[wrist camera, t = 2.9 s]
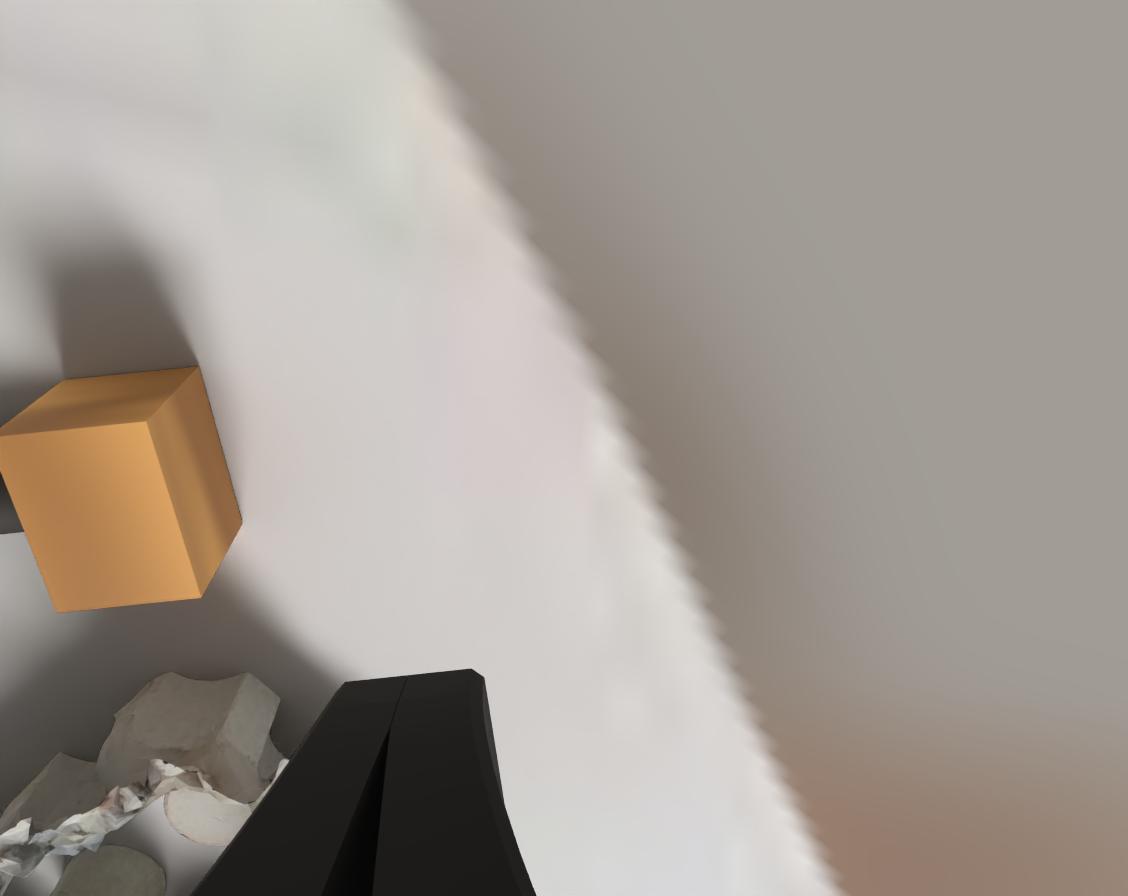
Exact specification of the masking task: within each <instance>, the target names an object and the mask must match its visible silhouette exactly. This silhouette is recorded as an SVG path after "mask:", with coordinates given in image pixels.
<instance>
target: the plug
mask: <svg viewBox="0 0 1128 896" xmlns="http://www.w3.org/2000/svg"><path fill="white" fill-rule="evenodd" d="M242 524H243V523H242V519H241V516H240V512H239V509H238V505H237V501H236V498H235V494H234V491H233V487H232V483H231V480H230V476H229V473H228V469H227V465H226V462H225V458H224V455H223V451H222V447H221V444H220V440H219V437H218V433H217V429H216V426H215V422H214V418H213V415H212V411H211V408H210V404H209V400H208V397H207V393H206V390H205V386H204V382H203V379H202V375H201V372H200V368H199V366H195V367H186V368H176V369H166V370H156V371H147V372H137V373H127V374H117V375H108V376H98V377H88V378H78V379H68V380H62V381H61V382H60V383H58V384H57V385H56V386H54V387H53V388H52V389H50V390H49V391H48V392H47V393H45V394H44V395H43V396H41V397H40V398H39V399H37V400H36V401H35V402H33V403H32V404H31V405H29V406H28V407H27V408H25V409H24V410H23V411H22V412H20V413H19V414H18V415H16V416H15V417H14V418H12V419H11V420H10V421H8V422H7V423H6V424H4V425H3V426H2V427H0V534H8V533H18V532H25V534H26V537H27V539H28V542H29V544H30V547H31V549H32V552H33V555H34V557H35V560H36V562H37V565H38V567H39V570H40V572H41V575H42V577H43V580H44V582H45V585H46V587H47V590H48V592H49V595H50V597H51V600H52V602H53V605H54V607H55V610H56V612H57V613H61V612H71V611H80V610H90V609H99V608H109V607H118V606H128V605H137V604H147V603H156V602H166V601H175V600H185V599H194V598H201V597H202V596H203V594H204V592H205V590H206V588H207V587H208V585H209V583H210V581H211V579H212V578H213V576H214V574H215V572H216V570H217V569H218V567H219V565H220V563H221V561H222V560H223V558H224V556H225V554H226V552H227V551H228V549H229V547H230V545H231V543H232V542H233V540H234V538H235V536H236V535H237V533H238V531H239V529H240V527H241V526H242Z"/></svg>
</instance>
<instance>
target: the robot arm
mask: <svg viewBox="0 0 1128 896" xmlns="http://www.w3.org/2000/svg"><path fill="white" fill-rule="evenodd" d="M190 896H536V893H535V891H534V888H533V886H532V883H531V881H530V878H529V875H528V873H527V870H526V867H525V865H524V862H523V859H522V857H521V854H520V851H519V848H518V845H517V842H516V839H515V836H514V833H513V830H512V827H511V824H510V821H509V818H508V815H507V811H506V808H505V804H504V798H503V792H502V786H501V779H500V773H499V767H498V761H497V754H496V748H495V742H494V735H493V729H492V723H491V717H490V710H489V704H488V698H487V691H486V685H485V679H484V677H483V676H481V675H480V674H479V673H477V672H476V671H474V670H473V669H463V670H454V671H444V672H435V673H426V674H416V675H407V676H397V677H388V678H379V679H369V680H360V681H350V682H345V683H344V684H343V685H342V686H341V687H340V688H339V690H338V691H337V692H336V693H335V694H334V696H333V697H332V699H331V700H330V702H329V703H328V705H327V706H326V708H325V709H324V711H323V712H322V713H321V715H320V716H319V718H318V719H317V721H316V722H315V724H314V725H313V727H312V728H311V730H310V731H309V733H308V734H307V736H306V737H305V739H304V740H303V742H302V743H301V744H300V746H299V747H298V749H297V750H296V752H295V753H294V755H293V756H292V758H291V759H290V760H289V762H288V763H287V765H286V766H285V768H284V769H283V770H282V772H281V773H280V775H279V776H278V778H277V779H276V780H275V782H274V783H273V785H272V786H271V788H270V789H269V790H268V792H267V793H266V795H265V796H264V797H263V799H262V800H261V802H260V803H259V804H258V806H257V807H256V808H255V810H254V811H253V812H252V814H251V815H250V816H249V818H248V819H247V821H246V822H245V823H244V825H243V826H242V827H241V829H240V830H239V831H238V833H237V834H236V835H235V837H234V838H233V839H232V841H231V842H230V844H229V845H228V846H227V848H226V849H225V850H224V852H223V853H222V854H221V856H220V857H219V858H218V860H217V861H216V863H215V864H214V865H213V866H212V868H211V869H210V870H209V872H208V873H207V874H206V876H205V877H204V878H203V880H202V881H201V882H200V883H199V885H198V886H197V887H196V888H195V890H194V891H193V892H192V893H191V895H190Z"/></svg>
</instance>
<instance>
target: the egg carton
mask: <svg viewBox="0 0 1128 896" xmlns="http://www.w3.org/2000/svg"><path fill="white" fill-rule="evenodd" d="M280 701H281V699H280V698H279V697H278V696H277V695H276V694H275V693H274V692H273V691H272V690H271V689H270V688H268V687H267V686H266V685H265V684H263V683H262V682H261V681H260V680H259V679H258V678H257V677H255V676H254V675H252V674H251V673H249V672H244V673H242V674H239V675H236V676H233V677H229V678H226V679H222V680H216V681H201V680H195V679H189V678H186V677H184V676H181V675H179V674H176V673H174V672H168V673H164V674H162V675H159V676H157V677H155V678H154V679H152V680H151V681H149V682H148V683H147V684H146V685H145V686H144V687H143V688H142V689H141V690H140V691H139V692H137V693H136V695H135V696H134V698H133V699H132V700H131V701H129V702H128V703H127V704H126V705H125V706H123V707H122V708H121V709H120V710H119V711H118V712H117V713H115V714H114V717H115V719H116V721H115V723H114V726H113V728H112V731H111V733H110V735H109V736H108V738H107V739H106V741H105V742H104V743H103V745H102V748H101V751H100V753H99V757H98V760H97V762H88V761H84V760H80V759H77V758H73V757H70V756H68V755H66V754H65V753H62V752H59V753H58V754H57V755H56V756H55V757H54V758H53V759H52V760H51V761H50V762H49V763H48V764H47V766H46V767H45V768H44V769H43V770H42V771H41V772H40V773H39V774H38V775H37V776H36V777H35V778H34V780H33V781H32V782H31V783H30V784H29V785H28V786H27V787H26V788H25V789H24V790H23V791H22V792H21V793H20V794H19V795H18V796H17V797H16V798H15V799H14V800H13V801H12V802H11V803H10V804H9V805H8V807H7V808H6V809H5V811H4V813H3V815H2V817H1V818H0V896H3V894H4V892H5V890H6V888H7V886H8V884H9V883H10V881H11V880H12V878H13V876H17V877H22V878H23V877H29V875H30V874H31V873H32V872H33V870H34V869H35V868H36V867H37V865H38V864H39V863H40V862H41V860H42V859H43V858H44V857H46V856H48V855H51V854H58V855H66V854H67V855H70V856H73V858H72V859H71V861H70V862H69V863H68V865H67V866H66V868H65V870H64V872H63V874H62V876H61V878H60V880H59V882H58V883H57V885H56V887H55V889H54V891H53V893H52V894H51V896H165V891H166V880H165V873H164V870H163V869H162V868H161V867H160V866H159V864H158V863H157V862H156V861H155V860H154V859H153V858H151V857H149V856H147V855H146V854H144V853H142V852H140V851H137V850H135V849H132V848H129V847H125V846H117V845H105V846H100V845H101V843H102V842H103V839H104V836H105V834H107V833H108V832H110V831H112V830H117V829H119V828H120V827H121V826H123V825H124V824H125V823H126V822H128V821H129V820H130V819H132V818H133V817H134V816H136V815H137V814H138V813H139V812H141V811H142V810H143V809H144V808H146V807H147V806H148V805H149V804H151V803H152V802H153V801H154V800H156V799H158V798H159V797H161V796H163V795H164V794H165V800H164V810H165V815H166V816H167V818H168V820H169V822H170V824H171V826H172V827H173V828H174V829H176V830H177V831H178V832H179V833H180V834H181V835H183V836H185V837H187V838H188V839H190V840H192V841H195V842H198V843H200V844H203V845H210V846H228V845H229V844H230V842H231V841H232V839H233V838H234V837H235V835H236V834H237V833H238V831H239V830H240V829H241V827H242V826H243V825H244V823H245V822H246V821H247V819H248V818H249V816H250V815H251V814H252V812H253V811H254V810H255V808H256V807H257V806H258V804H259V803H260V802H261V800H262V799H263V797H264V796H265V795H266V793H267V792H268V790H269V789H270V788H271V786H272V785H273V783H274V782H275V780H276V779H277V778H278V776H279V775H280V773H281V772H282V770H283V769H284V768H285V766H286V765H287V763H288V762H289V760H288V759H287V758H286V757H284V756H283V755H282V754H281V753H280V752H279V751H278V750H277V749H276V747H275V746H274V745H273V743H272V741H271V738H270V734H269V731H270V728H271V726H272V723H273V720H274V718H275V715H276V712H277V709H278V706H279V703H280ZM84 848H87V849H85V850H83V849H84ZM82 850H83V851H82ZM80 851H81V852H80ZM79 852H80V853H79ZM76 854H77V855H76ZM74 855H76V856H74Z"/></svg>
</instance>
